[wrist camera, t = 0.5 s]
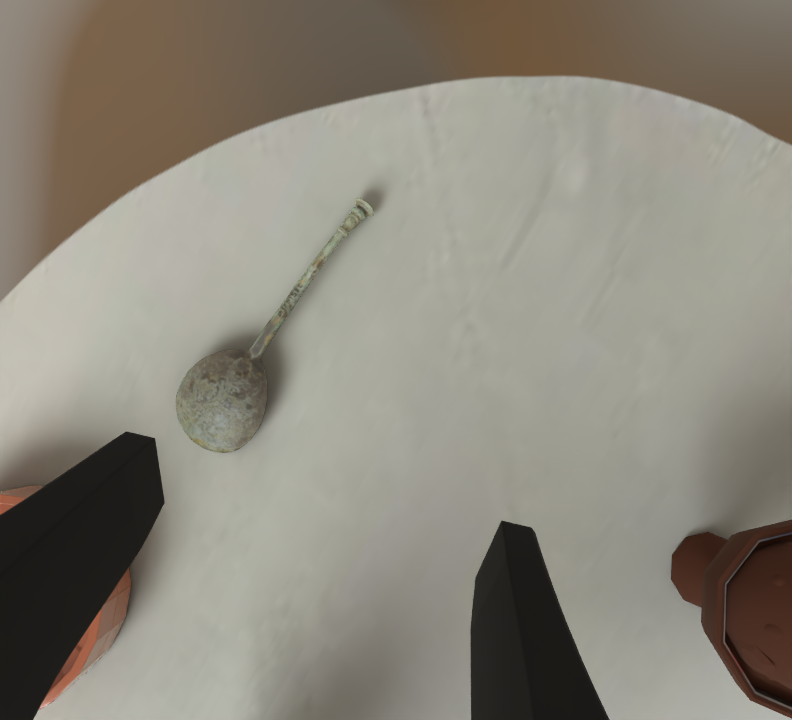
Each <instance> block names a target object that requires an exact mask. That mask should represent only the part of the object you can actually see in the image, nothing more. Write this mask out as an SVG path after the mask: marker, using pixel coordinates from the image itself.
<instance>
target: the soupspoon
mask: <svg viewBox="0 0 792 720" xmlns="http://www.w3.org/2000/svg"><path fill="white" fill-rule="evenodd" d="M355 205H356V207H357V208H356V207H354V208H353V209H352V212H351V214H349V216H348V217H347V218H346V219H345V221H344V224H343V226H339V227H338V229H337V233H336V234H335V235H334V236H333V237H332V239H331V240H330V241H329V242H328V243H327V245H326V246H325V247H324V248H323V250H322V251H321V252H320V253H319V255H318V256H317V257H316V259H315V260H314V261H313V262H312V264H311V265H310V267H309V268H308V269H307V271H306V272H305V273H304V275H303V276H302V278H301V279H300V280H299V282H298V283H297V284H296V286H295V287H294V288H293V290H292V291H291V293H290V294H289V296H288V297H287V298H286V300H285V301H284V302H283V304H282V305H281V306H280V308H279V309H278V310H277V312H276V313H275V314H274V316H273V317H272V318H271V320H270V321H269V322H268V324H267V325H266V327H265V328H264V329H263V331H262V332H261V334H260V335H259V337H258V338H257V339H256V341H255V342H254V344H253V345H252V347H251V348H250V349H249V350H245V349H231V350H224V351H220V352H217V353H215V354H212V355H210V356H208V357H205V358H203V359H202V360H200V361H199V362H197V363H196V364H195V365H194V366H193V367H192V368H191V369H190V370H189V371H188V372H187V374H186V376H185V377H184V379H183V380H182V382H181V385H180V387H179V389H178V392H177V396H176V410H177V416H178V419H179V422H180V424H181V426H182V427H183V429H184V431H185V432H186V434H187V435H188V436H189V438H190V439H191V440H193V441H194V442H195V443H197V444H198V445H200V446H201V447H203V448H205V449H208V450H210V451H214V452H222V453H225V452H232V451H235V450H238V449H239V448H241V447H242V446H244V445H245V444H246V443H247V442H248V441H250V439H251V438H252V437H253V436H254V434H255V433H256V431H257V429H258V428H259V426H260V423H261V421H262V419H263V416H264V412H265V407H266V402H267V382H266V375H265V370H264V367H263V364H262V361H261V356H262V354H263V352H264V350H265V349H266V347H267V346H268V344H269V343H270V341H271V340H272V338H273V337H274V335H275V333H276V332H277V330H278V329H279V327H280V326H281V324H282V323H283V321H284V320H285V318H286V317H287V315H288V314H289V313H290V311H291V310H292V308H293V307H294V306H295V304H296V303H297V301H298V300H299V298H300V297H301V295H302V294H303V293H304V291H305V290H306V288H307V287H308V285H309V284H310V282H311V281H312V280H313V278H314V277H315V275H316V274H317V272H318V271H319V270H320V268H321V267H322V266H323V264H324V263H325V261H326V260H327V259H328V257H329V256H330V255H331V253H332V252H333V251H334V249H335V248H336V246H337V245H338V243H339V242H340V241H341V239H342V238H344V237H347V236H348V232H349V230H351V229H353V228H355V227H356V226H357V225H358V223H359V221H362V220H364V219H365V215H366V216H369V217H371V216H373V215H374V211H373V209H372V207H371V205H370V204H368V203H367V202H366V201H364V200H363V199H361V198H356V199H355Z"/></svg>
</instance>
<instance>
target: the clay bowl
mask: <svg viewBox="0 0 792 720" xmlns="http://www.w3.org/2000/svg"><path fill="white" fill-rule="evenodd" d="M41 488H43V486H35V485H33V486H27V487H21V488H16V489H10V490H5V491H0V515H1V514H2V513H4V512H5V511H7V510H9V509H10V508H12V507H13V506H15V505H17V504H18V503H20V502H21V501H23V500H24V499H26V498H27V497H29V496H30V495H32V494H33V493H35V492H36V491H38V490H40V489H41ZM130 589H131V580H130V572H129V568H128V569H127V571H126V572H125V574H124V575H123V577H122V578H121V580H120V581H119V583H118V584H117V586H116V587H115V589H114V590H113V592H112V593H111V595H110V596H109V598H108V599H107V601H106V602H105V604H104V605H103V607H102V608H101V610H100V611H99V613H98V614H97V616H96V617H95V619H94V620H93V622H92V623H91V625H90V626H89V628H88V629H87V631H86V632H85V634H84V635H83V637H82V638H81V640H80V641H79V643H78V644H77V646H76V647H75V649H74V650H73V651H72V653H71V655H70V656H69V658H68V659H67V661H66V663H65V664H64V666H63V667H62V669H61V671H60V672H59V674H58V676H57V677H56V679H55V681H54V683H53V684H52V686H51V688H50V690H49V692H48V693H47V695H46V697H45V699H44V701H43V702H42V704H41V706H40V708H39V709H41V708H43V707H45V706H46V705H48V704H50V703H52V702H53V701H54V700H55V699H57V698H58V697H59V696H60V695H61V694H62V693H63V692H65V691H66V690H67V689H68V688H69V687H70V686H71V685H72V684H74V683H75V682H76V681H77V680H78V679H79V678H80V677H82V676H83V675H84V674H85V673H86V672H87V671H88V670H89V669H90V668H91V667H92V666H93V665H94V664H95V663H96V662H97V661H98V660H99V659H100V658H101V657H102V656H103V655H104V654H105V653H106V651H107V650H108V649H109V648H110V647H111V645H112V643H113V641H114V639H115V637H116V635H117V633H118V631H119V629H120V627H121V625H122V624H123V622H124V620H125V617H126V612H127V606H128V600H129V595H130Z"/></svg>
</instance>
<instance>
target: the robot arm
mask: <svg viewBox="0 0 792 720" xmlns="http://www.w3.org/2000/svg"><path fill="white" fill-rule="evenodd" d="M164 503H165V502H164V495H163V489H162V482H161V476H160V469H159V462H158V456H157V449H156V443H155V438H152V437H147V436H143V435H139V434H135V433H130V432H125V433H123V434H122V435H120V436H118V437H117V438H115V439H114V440H112V441H111V442H109V443H108V444H106V445H105V446H104V447H102V448H101V449H99V450H98V451H96V452H95V453H93V454H92V455H90V456H89V457H87V458H86V459H84V460H83V461H81V462H80V463H79V464H77V465H76V466H74V467H73V468H71V469H70V470H68V471H67V472H65V473H64V474H62V475H61V476H59V477H58V478H56V479H55V480H53V481H52V482H50V483H49V484H47V485H46V486H44V487H43V488H41V489H40V490H38V491H36V492H35V493H33V494H32V495H30V496H29V497H27V498H26V499H24V500H23V501H21V502H20V503H18V504H17V505H15V506H13V507H12V508H10V509H9V510H7V511H5V512H4V513H2V514H1V515H0V720H33V719H34V717H35V715H36V713H37V711H38V710H39V708H40V706H41V704H42V702H43V701H44V699H45V697H46V695H47V693H48V692H49V690H50V688H51V686H52V684H53V683H54V681H55V679H56V677H57V676H58V674H59V672H60V671H61V669H62V667H63V666H64V664H65V663H66V661H67V659H68V658H69V656H70V655H71V653H72V651H73V650H74V649H75V647H76V646H77V644H78V643H79V641H80V640H81V638H82V637H83V635H84V634H85V632H86V631H87V629H88V628H89V626H90V625H91V623H92V622H93V620H94V619H95V617H96V616H97V614H98V613H99V611H100V610H101V608H102V607H103V605H104V604H105V602H106V601H107V599H108V598H109V596H110V595H111V593H112V592H113V590H114V589H115V587H116V586H117V584H118V583H119V581H120V580H121V578H122V577H123V575H124V574H125V572H126V571H127V569H128V568H129V566H130V565H131V563H132V562H133V560H134V559H135V557H136V556H137V554H138V553H139V551H140V549H141V548H142V546H143V544H144V542H145V540H146V538H147V536H148V534H149V533H150V531H151V529H152V527H153V525H154V523H155V521H156V519H157V517H158V515H159V513H160V511H161V509H162V507H163V505H164ZM471 720H609V718H608V716H607V714H606V712H605V709H604V707H603V705H602V703H601V701H600V699H599V697H598V694H597V692H596V690H595V688H594V686H593V684H592V681H591V679H590V677H589V675H588V672H587V670H586V668H585V666H584V663H583V661H582V659H581V656H580V654H579V652H578V649H577V647H576V644H575V642H574V639H573V637H572V634H571V632H570V630H569V627H568V625H567V622H566V620H565V617H564V615H563V612H562V609H561V607H560V604H559V602H558V599H557V596H556V593H555V591H554V588H553V585H552V582H551V580H550V577H549V574H548V571H547V568H546V565H545V562H544V559H543V556H542V553H541V550H540V547H539V544H538V540H537V537H536V534H535V532H534V530H533V529H532V528H531V527H526V526H522V525H518V524H514V523H509V522H505V521H501V523H500V525H499V527H498V530H497V532H496V534H495V536H494V538H493V541H492V543H491V545H490V547H489V549H488V552H487V554H486V556H485V558H484V560H483V563H482V565H481V567H480V569H479V571H478V574H477V576H476V579H475V589H474V598H473V609H472V620H471Z"/></svg>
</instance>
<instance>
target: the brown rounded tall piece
mask: <svg viewBox="0 0 792 720" xmlns="http://www.w3.org/2000/svg"><path fill="white" fill-rule="evenodd" d="M671 580H672V581H673V583H674V585H675V586H676V588H677V590H678V591H679V593H680V594H681V596H682V598H683V599H684V600H685V601H688V602H690V603H692V604H694V605H697V606H699V607H701V608H702V614H701V623H702V626H703V629H704V631H705V633H706V635H707V637H708V638H709V640H710V642H711V643H712V645H713V646H714V648H715V650H716V651H717V653H718V655H719V656H720V658H721V659H722V661H723V663H724V664H725V666H726V668H727V669H728V671H729V672H730V674H731V676H732V677H733V679H734V681H735V682H736V684H737V685H738V686H739V687H740V688H741V690H742V691H743V692H744V693H745V694H746V696H747V697H748V698H749V699H750V700H751V701H753V702H755V703H758V704H760V705H762V706H765V707H767V708H769V709H771V710H774V711H776V712H778V713H780V714H783V715H785V716H787V717H790V718H792V520H788V521H784V522H780V523H776V524H771V525H767V526H763V527H759V528H755V529H751V530H747V531H743V532H739V533H737V534H734V535H732V536H731V537H730V538H729V540H725V539H723V538H721V537H719V536H716V535H714V534H712V533H709V532H706V533H702V534H698V535H694V536H690V537H686V538H685V540H684V541H683V542H682V543H681V545H680V546H679V547H678V548H677V550H676V551H675V552H674V553H673V555H672V570H671Z"/></svg>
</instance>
